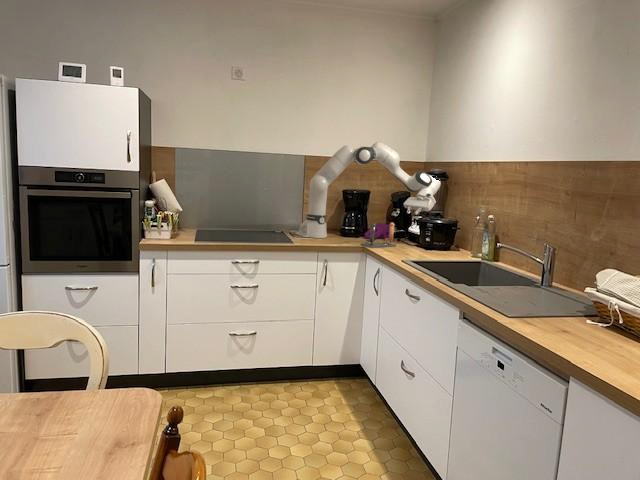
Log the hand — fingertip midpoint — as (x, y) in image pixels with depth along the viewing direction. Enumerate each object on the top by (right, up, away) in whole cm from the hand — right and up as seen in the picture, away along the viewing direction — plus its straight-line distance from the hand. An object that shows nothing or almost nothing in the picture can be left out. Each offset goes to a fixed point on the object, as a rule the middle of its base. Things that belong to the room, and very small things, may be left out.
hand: (411, 213), depth 293 cm
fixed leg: (-27, -19, -16) cm, 37 cm away
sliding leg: (-15, -18, -7) cm, 24 cm away
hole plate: (-22, -20, -12) cm, 32 cm away
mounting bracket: (-20, -16, +21) cm, 33 cm away
